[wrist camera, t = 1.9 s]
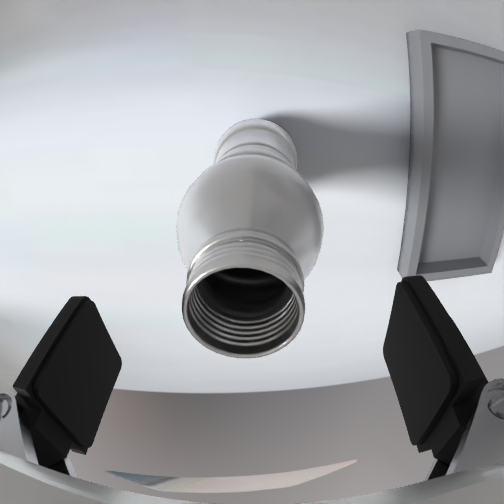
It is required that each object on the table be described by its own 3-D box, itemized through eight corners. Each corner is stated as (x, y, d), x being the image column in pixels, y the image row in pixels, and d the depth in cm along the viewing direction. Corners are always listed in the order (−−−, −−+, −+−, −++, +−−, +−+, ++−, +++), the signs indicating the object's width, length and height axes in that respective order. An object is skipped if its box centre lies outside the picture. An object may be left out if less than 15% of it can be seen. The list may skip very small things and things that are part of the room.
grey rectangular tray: (406, 32, 20) (419, 29, 17) (503, 56, 19) (518, 57, 16) (397, 269, 32) (405, 283, 29) (480, 260, 31) (491, 272, 28)
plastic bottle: (299, 120, 25) (387, 222, 7) (288, 195, 28) (321, 389, 11) (222, 111, 24) (122, 192, 7) (215, 186, 28) (146, 371, 11)
